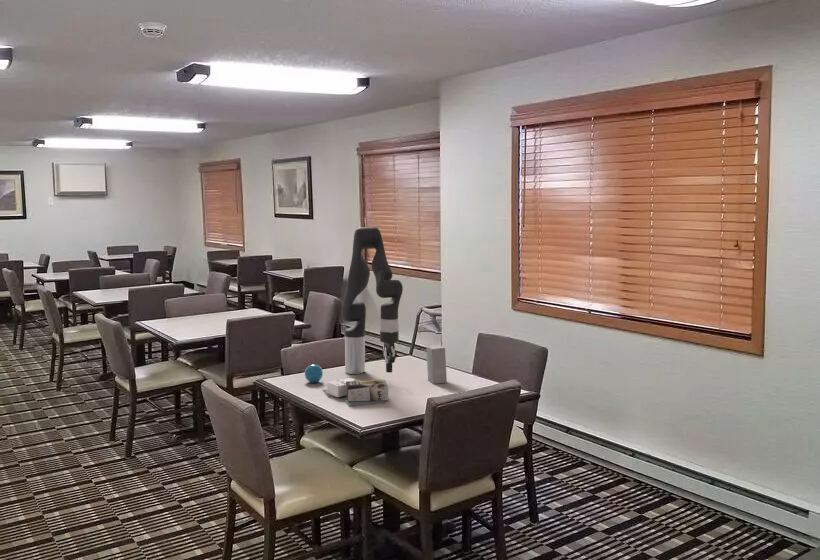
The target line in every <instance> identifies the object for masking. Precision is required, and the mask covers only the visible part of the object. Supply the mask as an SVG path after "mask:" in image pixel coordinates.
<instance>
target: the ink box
mask: <svg viewBox="0 0 820 560" xmlns="http://www.w3.org/2000/svg"><path fill="white" fill-rule="evenodd" d="M346 381H360V380H359V379H356V378H352V377H348V378H343V379H337V380H331V381H327V382H326V385H327V387H326V389H327V393H328V394H330V395H333V396H335V397H334V398H341V397H342V398H343V397H347V396H346Z"/></svg>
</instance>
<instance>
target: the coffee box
mask: <svg viewBox="0 0 820 560" xmlns="http://www.w3.org/2000/svg"><path fill="white" fill-rule="evenodd" d="M345 397H346V398H347V400H348V401H378V400H383V401H388V399H389V384H388V383H387V381H386V380H385V379H382V380H381V379H377V380H375V379H374V380H359V381H346V396H345Z"/></svg>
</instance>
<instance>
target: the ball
mask: <svg viewBox="0 0 820 560" xmlns="http://www.w3.org/2000/svg"><path fill="white" fill-rule="evenodd" d="M323 375H324V373H323V369H322V367H321V366H320V365H318V364H310V365H308V366H307V367H306V368H305V370H304V376H305V377H304V378H305V379H306V381H307V382H309V383H312V384H313V383H314V384H315V383H318V382H320V381H321V380H322V378H323Z"/></svg>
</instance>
